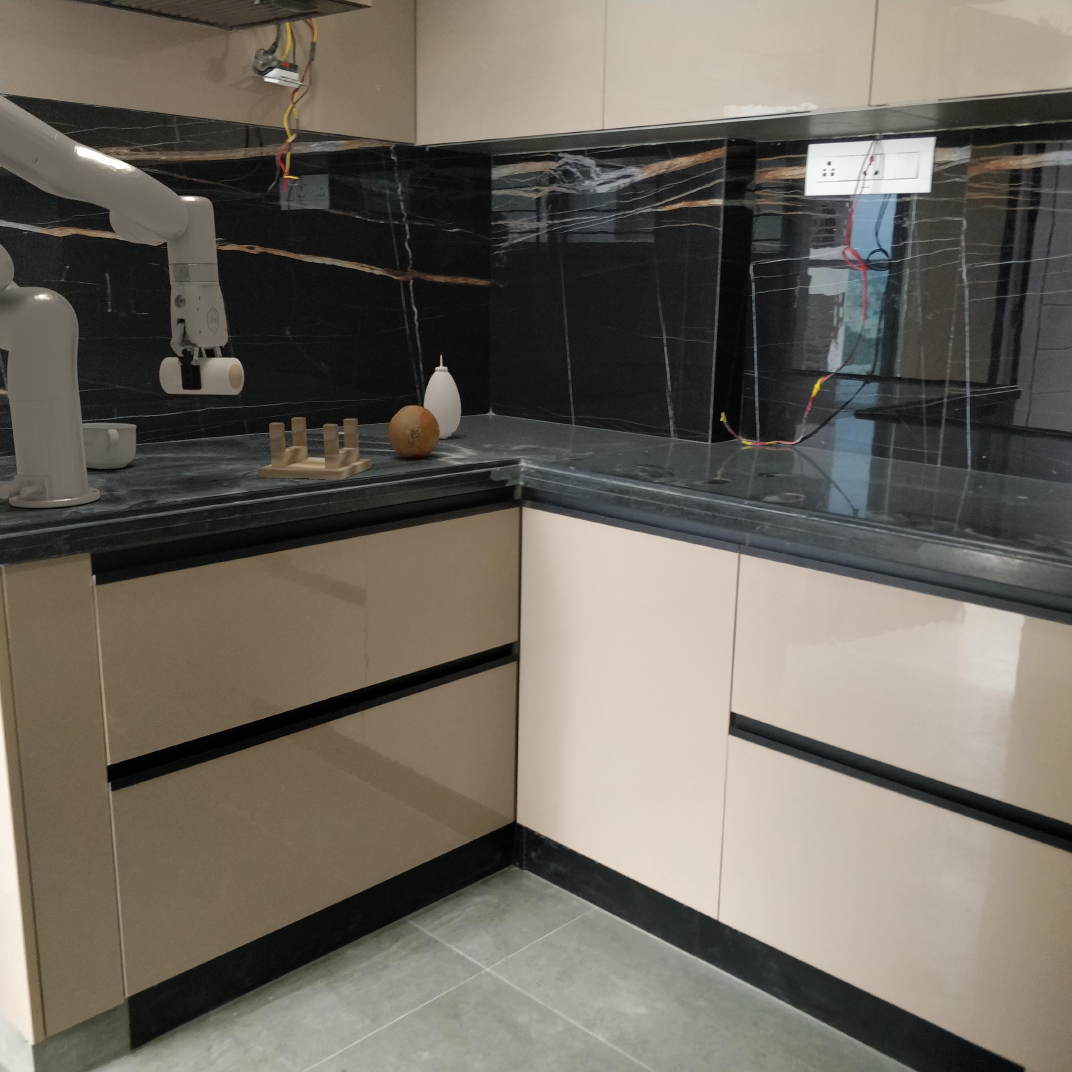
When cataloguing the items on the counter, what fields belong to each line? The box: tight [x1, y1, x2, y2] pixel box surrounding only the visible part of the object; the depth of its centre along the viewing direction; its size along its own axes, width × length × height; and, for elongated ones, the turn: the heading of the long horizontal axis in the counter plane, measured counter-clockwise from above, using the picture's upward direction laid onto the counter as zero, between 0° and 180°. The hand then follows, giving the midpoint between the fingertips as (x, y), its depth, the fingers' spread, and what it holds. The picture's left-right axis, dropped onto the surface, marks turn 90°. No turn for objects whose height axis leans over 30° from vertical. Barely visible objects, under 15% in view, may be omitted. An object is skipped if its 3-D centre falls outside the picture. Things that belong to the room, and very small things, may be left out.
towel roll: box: [158, 356, 245, 396], centre depth 176 cm, size 6×12×6 cm, turn 77°
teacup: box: [82, 422, 137, 470], centre depth 192 cm, size 14×11×8 cm
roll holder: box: [257, 416, 372, 481], centre depth 187 cm, size 14×15×9 cm
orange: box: [387, 405, 440, 459], centre depth 203 cm, size 10×10×10 cm
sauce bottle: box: [423, 354, 462, 440], centre depth 230 cm, size 8×8×18 cm
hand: (202, 386), depth 177 cm, fingers closed on towel roll, 6 cm apart
